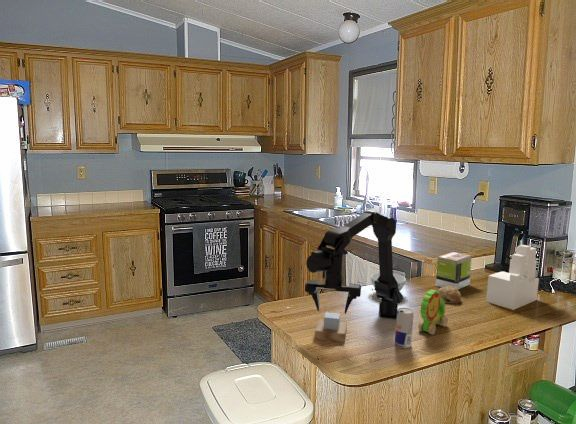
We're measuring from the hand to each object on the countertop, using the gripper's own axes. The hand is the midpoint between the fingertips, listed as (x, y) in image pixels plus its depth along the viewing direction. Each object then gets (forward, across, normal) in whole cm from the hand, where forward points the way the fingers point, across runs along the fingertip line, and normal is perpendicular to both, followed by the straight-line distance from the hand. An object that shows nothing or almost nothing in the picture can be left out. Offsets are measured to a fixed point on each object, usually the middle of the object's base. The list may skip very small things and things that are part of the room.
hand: (331, 312), depth 156 cm
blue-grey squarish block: (+5, 0, 0) cm, 5 cm away
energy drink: (+8, -24, +2) cm, 26 cm away
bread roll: (+8, -46, -50) cm, 68 cm away
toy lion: (+8, -35, -14) cm, 39 cm away
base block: (+8, 0, 0) cm, 8 cm away
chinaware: (+8, -20, -49) cm, 54 cm away
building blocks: (+8, -73, -56) cm, 93 cm away
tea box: (+8, -51, -71) cm, 88 cm away
